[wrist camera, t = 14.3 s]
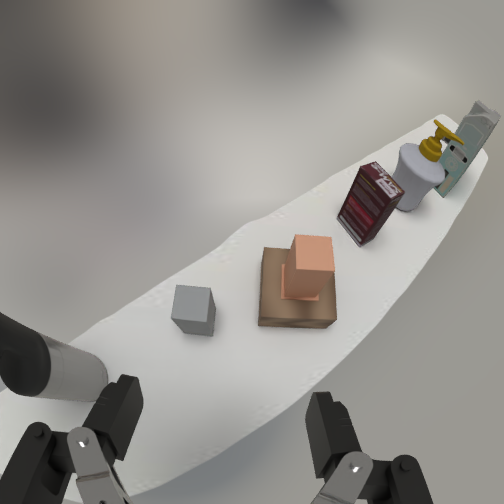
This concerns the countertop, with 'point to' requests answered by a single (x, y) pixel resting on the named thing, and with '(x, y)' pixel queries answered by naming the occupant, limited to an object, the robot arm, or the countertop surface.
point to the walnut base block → (291, 298)
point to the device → (466, 144)
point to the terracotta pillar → (308, 266)
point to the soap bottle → (421, 167)
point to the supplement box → (369, 203)
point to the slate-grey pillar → (194, 310)
